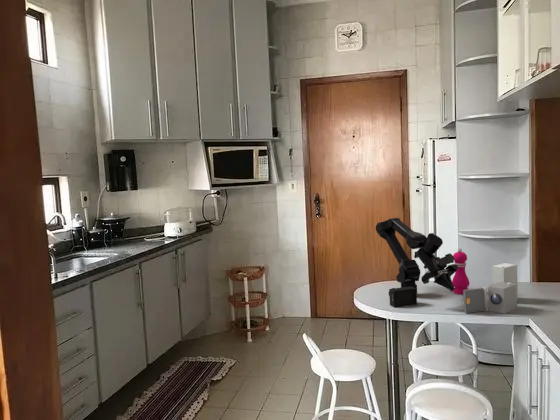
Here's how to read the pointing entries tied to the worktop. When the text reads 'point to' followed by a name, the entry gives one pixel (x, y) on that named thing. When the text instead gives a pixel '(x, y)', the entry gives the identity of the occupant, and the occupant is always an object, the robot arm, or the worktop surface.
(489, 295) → the camera housing
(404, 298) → the digital camera
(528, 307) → the worktop surface
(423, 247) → the robot arm
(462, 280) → the pepper mill
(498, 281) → the skincare box
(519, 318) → the worktop surface
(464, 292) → the side door
